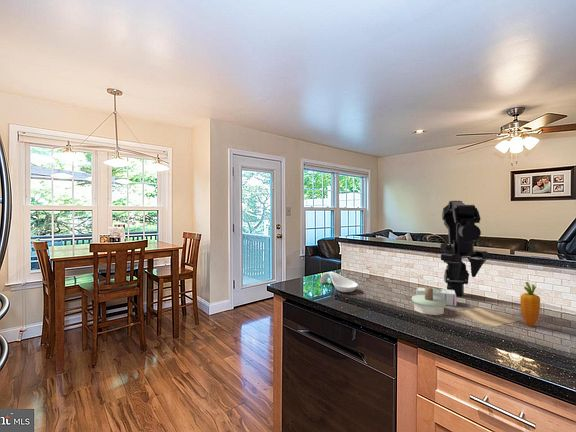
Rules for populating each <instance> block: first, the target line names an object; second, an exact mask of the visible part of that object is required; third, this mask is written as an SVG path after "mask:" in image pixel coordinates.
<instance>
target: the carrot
mask: <svg viewBox="0 0 576 432" xmlns="http://www.w3.org/2000/svg"><path fill="white" fill-rule="evenodd" d="M525 285H526V286H523V288H524V290H525V291H526V292H524V293H522V294H521V295H520V311H521V315H522V318H523V321H524V323H525V325H526V326H528V327H530V328H533V327H534V326H535V324H536V323H537V321H538V319H539V315H540V312H541V309H540V308H541V298H540V296H539V295H537V294H535V290H536V288H537V286H536V285H535V284H530V283H529V282H528V281H526V282H525Z"/></svg>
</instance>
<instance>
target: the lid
mask: <svg viewBox="0 0 576 432" xmlns="http://www.w3.org/2000/svg"><path fill="white" fill-rule="evenodd" d="M424 288H425V295H416V294H415V295H414V294H413V296H411V302H413V304H414V303H415V304H418V305H421V306H426V307H444V308H445V307H446V306H448V305H447V301H446V300H445V299H444V298H441V297H438V296H433V289H432V288H433V287H432V288H431V287H424Z"/></svg>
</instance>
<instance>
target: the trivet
mask: <svg viewBox="0 0 576 432" xmlns="http://www.w3.org/2000/svg"><path fill="white" fill-rule="evenodd" d="M454 314H457V315H459V316H462V317H464V318H466V319H467V318H468V319H470V320H472V321H475V322H477V323H480V324H483V325H485V326H489V327H491V328H495V327H499V326H503V325H507V324H512V323H516V322H520V321H521V319H518V318H515V317H512V316H509V315H505V314H502V313H499V312H496V311H493V310H491V309H487V308H484V307H481V306H480V307H475V308H470V309H467V310H460V311H455V312H454Z"/></svg>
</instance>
